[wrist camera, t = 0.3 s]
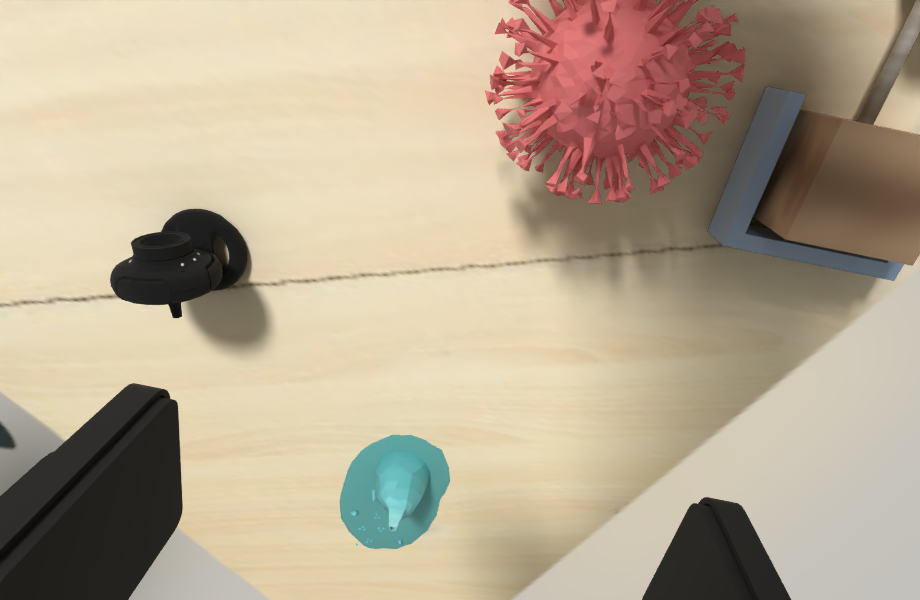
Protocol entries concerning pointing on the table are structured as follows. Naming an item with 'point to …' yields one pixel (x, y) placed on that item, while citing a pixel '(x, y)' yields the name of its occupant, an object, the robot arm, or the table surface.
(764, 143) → the blue-grey u-shaped piece
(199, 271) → the webcam
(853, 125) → the tether block
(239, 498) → the table surface
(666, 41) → the virus model
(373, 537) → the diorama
